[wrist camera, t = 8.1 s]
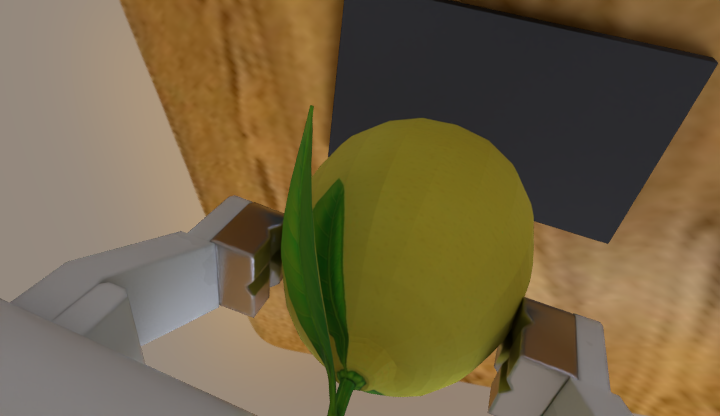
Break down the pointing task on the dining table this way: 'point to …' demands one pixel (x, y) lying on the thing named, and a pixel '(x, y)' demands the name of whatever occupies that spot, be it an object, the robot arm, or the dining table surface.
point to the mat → (522, 98)
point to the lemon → (404, 256)
